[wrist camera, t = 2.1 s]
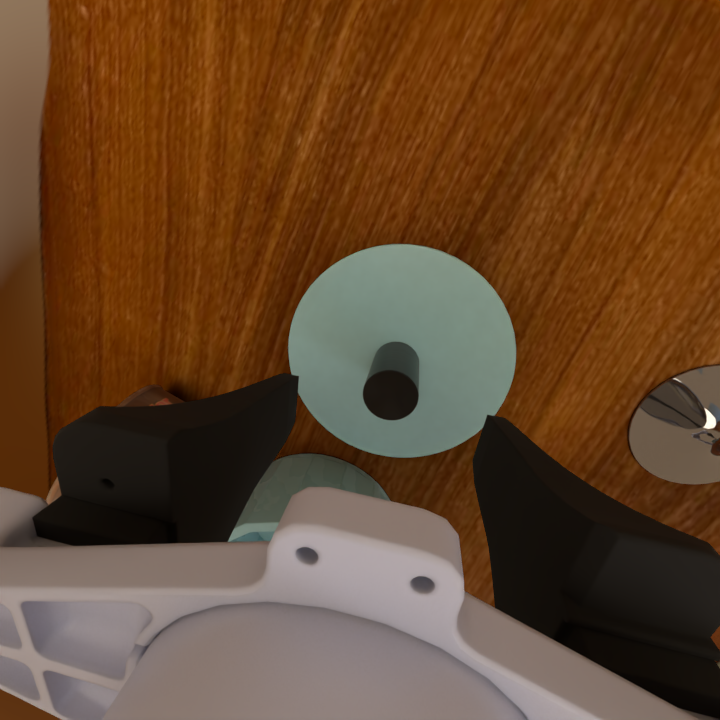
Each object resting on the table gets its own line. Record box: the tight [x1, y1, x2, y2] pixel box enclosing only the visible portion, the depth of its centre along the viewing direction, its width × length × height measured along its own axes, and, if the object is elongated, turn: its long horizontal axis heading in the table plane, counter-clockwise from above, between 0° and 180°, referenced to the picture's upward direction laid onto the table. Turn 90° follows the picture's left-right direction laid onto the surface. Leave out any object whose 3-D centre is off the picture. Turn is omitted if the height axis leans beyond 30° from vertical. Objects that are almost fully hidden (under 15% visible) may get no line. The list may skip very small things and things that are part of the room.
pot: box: [228, 454, 390, 542], centre depth 22 cm, size 11×16×6 cm
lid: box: [288, 244, 516, 458], centre depth 18 cm, size 12×12×5 cm
